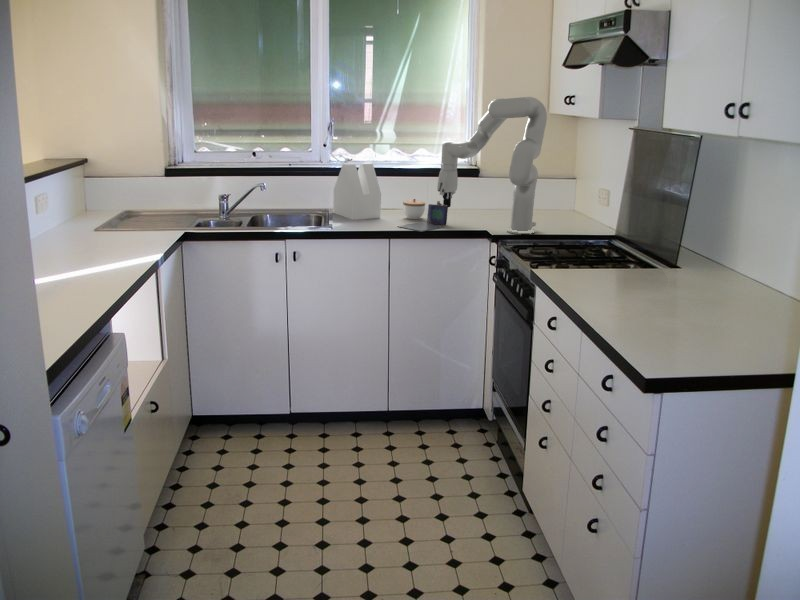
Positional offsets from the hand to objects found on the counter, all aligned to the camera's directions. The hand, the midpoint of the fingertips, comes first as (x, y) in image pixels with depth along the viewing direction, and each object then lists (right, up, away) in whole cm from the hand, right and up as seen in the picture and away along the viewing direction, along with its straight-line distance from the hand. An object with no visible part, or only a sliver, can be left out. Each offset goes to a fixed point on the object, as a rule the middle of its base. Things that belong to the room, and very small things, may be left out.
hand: (446, 206), depth 386 cm
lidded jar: (-16, -5, +10) cm, 19 cm away
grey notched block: (-43, -3, +11) cm, 45 cm away
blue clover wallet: (-5, -9, -3) cm, 10 cm away
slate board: (-12, -11, -12) cm, 20 cm away
